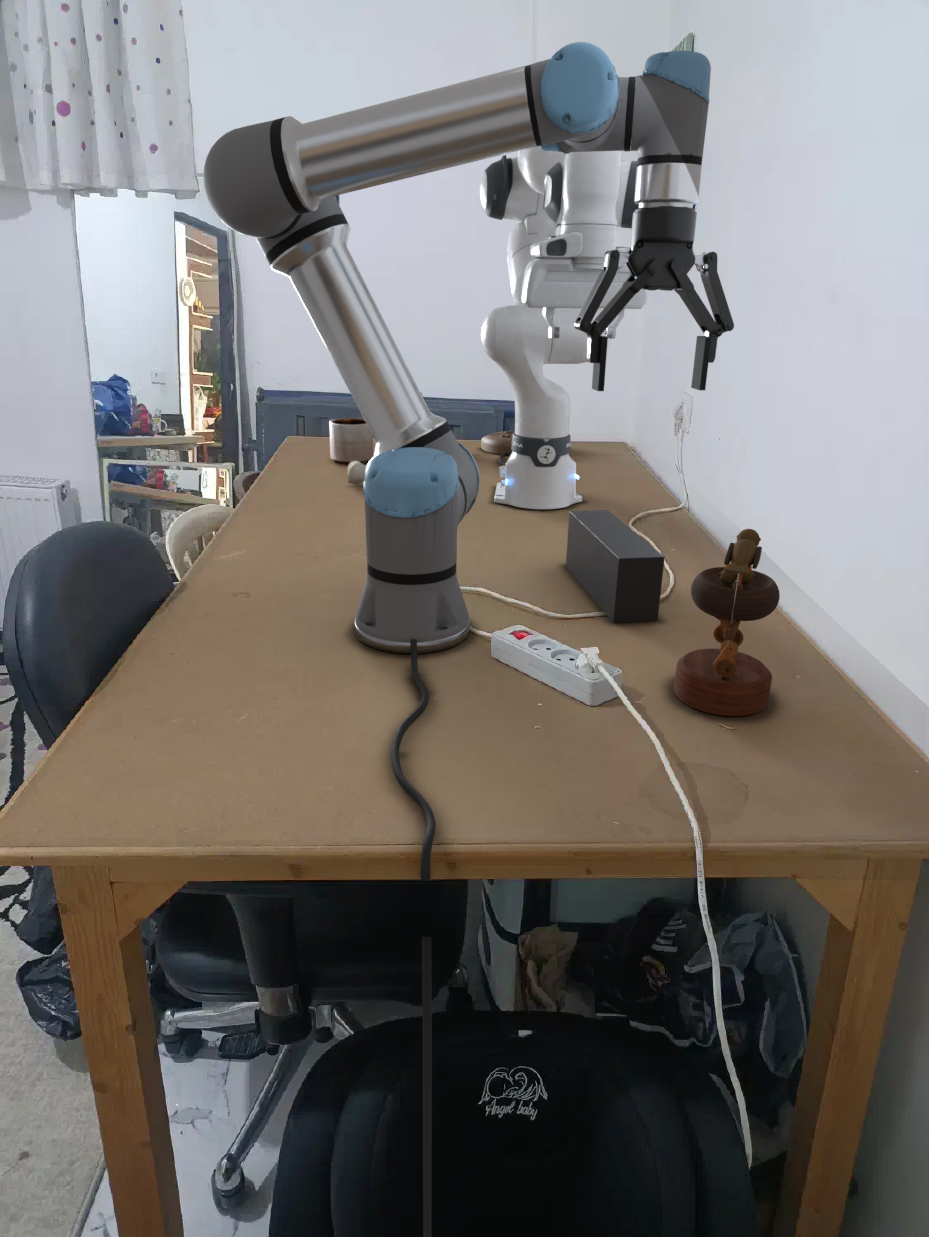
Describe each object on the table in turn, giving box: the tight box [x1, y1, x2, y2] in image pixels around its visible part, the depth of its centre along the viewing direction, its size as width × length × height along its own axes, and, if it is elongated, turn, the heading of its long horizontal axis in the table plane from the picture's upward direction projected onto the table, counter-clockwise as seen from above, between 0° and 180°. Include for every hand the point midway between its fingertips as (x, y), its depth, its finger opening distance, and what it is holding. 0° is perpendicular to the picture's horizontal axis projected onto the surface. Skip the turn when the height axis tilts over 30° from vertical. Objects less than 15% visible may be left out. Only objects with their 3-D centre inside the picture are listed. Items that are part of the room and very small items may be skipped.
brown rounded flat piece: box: [480, 429, 515, 456], centre depth 224 cm, size 21×28×4 cm
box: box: [565, 509, 665, 624], centre depth 127 cm, size 24×6×9 cm, turn 9°
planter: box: [328, 417, 374, 464], centre depth 212 cm, size 11×11×10 cm
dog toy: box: [346, 461, 367, 485], centre depth 190 cm, size 20×6×5 cm, turn 99°
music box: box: [673, 528, 781, 717], centre depth 94 cm, size 15×11×20 cm
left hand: (648, 389), depth 109 cm, fingers open, 13 cm apart
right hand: (581, 338), depth 138 cm, fingers open, 8 cm apart
